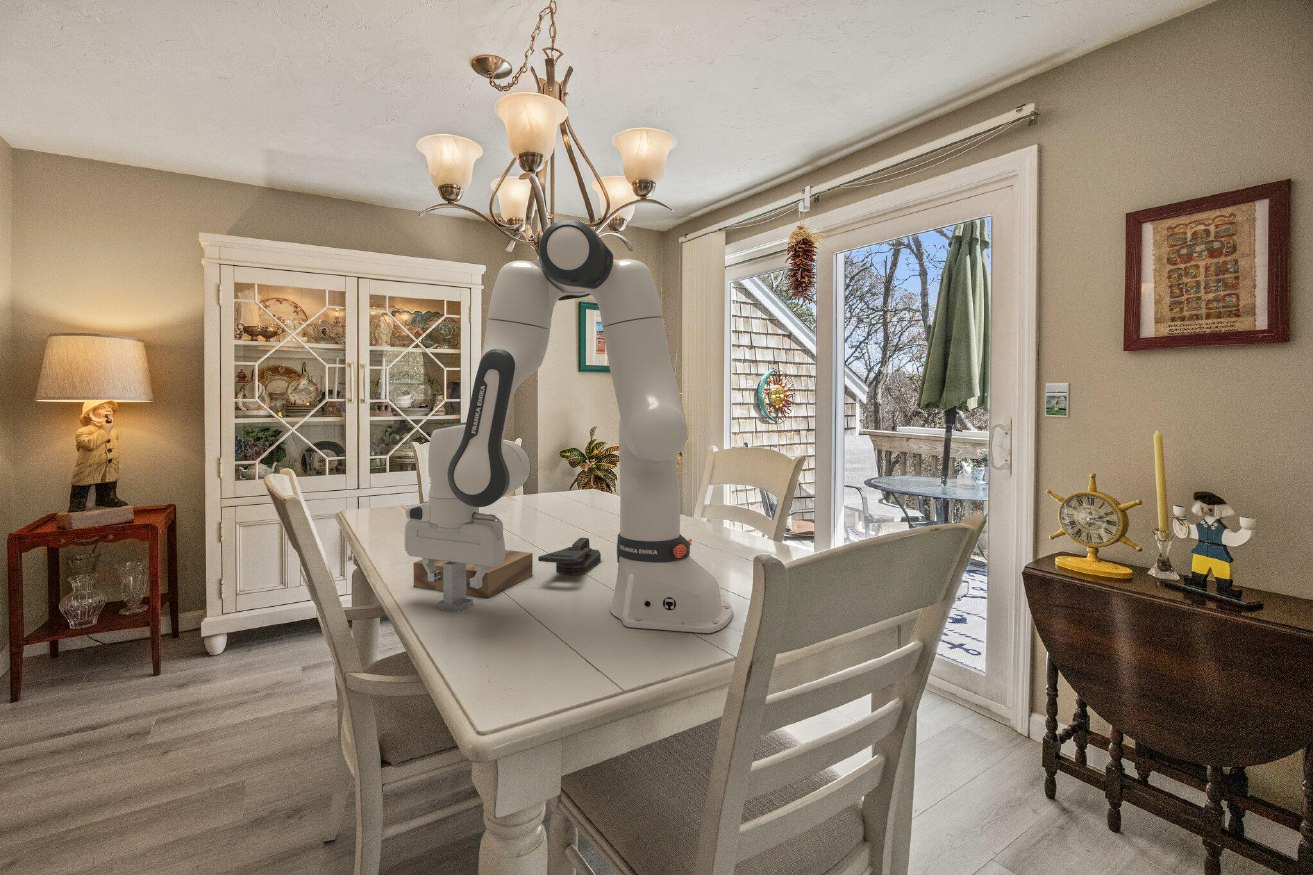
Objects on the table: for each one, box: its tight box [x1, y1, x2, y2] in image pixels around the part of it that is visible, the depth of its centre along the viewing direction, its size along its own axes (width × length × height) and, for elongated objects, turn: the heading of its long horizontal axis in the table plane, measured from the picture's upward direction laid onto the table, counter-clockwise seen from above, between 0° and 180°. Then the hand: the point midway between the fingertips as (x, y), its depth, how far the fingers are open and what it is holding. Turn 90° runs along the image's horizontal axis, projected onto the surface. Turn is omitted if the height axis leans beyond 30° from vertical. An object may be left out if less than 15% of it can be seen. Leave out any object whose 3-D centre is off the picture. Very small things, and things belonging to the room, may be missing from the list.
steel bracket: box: [436, 562, 474, 612], centre depth 113 cm, size 5×4×8 cm
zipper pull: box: [537, 537, 602, 576], centre depth 136 cm, size 9×7×25 cm
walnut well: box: [413, 549, 534, 599], centre depth 128 cm, size 18×16×5 cm
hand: (454, 584), depth 113 cm, fingers open, 8 cm apart
